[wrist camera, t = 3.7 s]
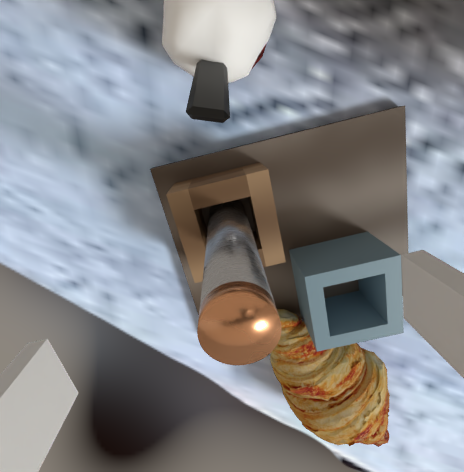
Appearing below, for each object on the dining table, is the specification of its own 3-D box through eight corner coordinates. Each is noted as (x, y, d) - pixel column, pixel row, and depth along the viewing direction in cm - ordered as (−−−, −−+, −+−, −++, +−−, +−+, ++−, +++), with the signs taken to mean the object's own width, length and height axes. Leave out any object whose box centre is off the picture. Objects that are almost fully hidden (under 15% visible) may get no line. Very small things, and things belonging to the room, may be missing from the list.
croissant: (243, 299, 32) (215, 365, 26) (325, 273, 26) (312, 353, 20) (344, 406, 38) (339, 480, 32) (430, 406, 32) (443, 497, 26)
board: (152, 168, 24) (150, 169, 23) (398, 106, 23) (405, 105, 22) (207, 334, 30) (206, 339, 29) (404, 290, 29) (409, 294, 28)
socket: (288, 249, 26) (304, 277, 21) (367, 231, 26) (400, 255, 21) (300, 314, 28) (317, 351, 24) (372, 298, 28) (403, 332, 23)
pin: (205, 201, 24) (187, 306, 10) (240, 192, 24) (273, 287, 10) (214, 234, 25) (209, 372, 11) (248, 226, 25) (287, 355, 11)
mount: (174, 183, 23) (166, 194, 20) (260, 162, 23) (268, 169, 19) (198, 260, 26) (194, 283, 22) (275, 242, 26) (285, 262, 22)
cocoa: (205, -56, 19) (185, -330, 8) (287, 2, 20) (377, -157, 9) (146, 89, 22) (68, 49, 10) (222, 132, 23) (227, 139, 12)
